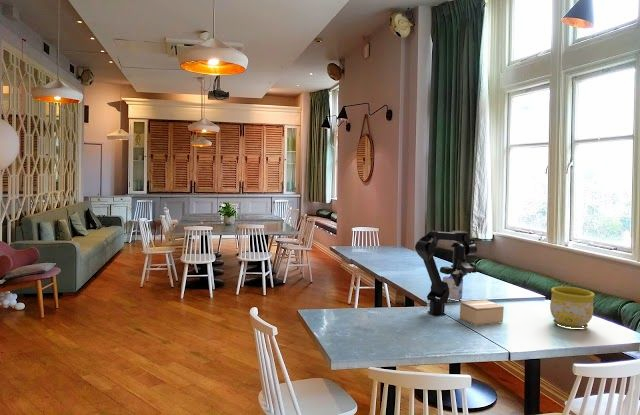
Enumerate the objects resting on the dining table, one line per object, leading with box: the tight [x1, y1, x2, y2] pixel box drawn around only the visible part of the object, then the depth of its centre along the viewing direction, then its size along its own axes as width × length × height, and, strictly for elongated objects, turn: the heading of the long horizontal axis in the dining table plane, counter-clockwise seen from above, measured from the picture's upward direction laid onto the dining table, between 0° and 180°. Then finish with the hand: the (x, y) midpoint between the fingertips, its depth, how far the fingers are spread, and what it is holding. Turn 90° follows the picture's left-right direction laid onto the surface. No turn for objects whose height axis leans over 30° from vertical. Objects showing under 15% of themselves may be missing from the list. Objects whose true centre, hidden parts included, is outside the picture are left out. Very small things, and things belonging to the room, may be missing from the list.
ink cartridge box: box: [442, 274, 464, 300], centre depth 270 cm, size 10×6×14 cm, turn 53°
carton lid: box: [459, 299, 504, 310], centre depth 234 cm, size 16×12×1 cm
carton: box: [459, 303, 505, 326], centre depth 234 cm, size 16×12×7 cm
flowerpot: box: [549, 286, 596, 329], centre depth 229 cm, size 18×18×16 cm
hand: (457, 286), depth 250 cm, fingers closed
